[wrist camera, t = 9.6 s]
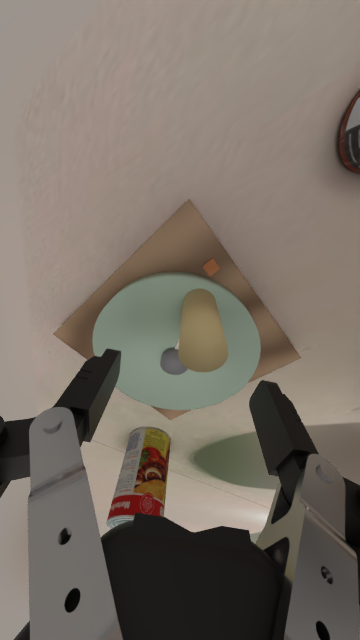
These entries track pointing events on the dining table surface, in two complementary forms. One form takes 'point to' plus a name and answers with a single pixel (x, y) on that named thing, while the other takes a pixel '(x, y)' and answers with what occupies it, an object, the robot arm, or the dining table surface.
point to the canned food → (141, 477)
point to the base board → (192, 257)
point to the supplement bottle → (351, 136)
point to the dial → (179, 340)
